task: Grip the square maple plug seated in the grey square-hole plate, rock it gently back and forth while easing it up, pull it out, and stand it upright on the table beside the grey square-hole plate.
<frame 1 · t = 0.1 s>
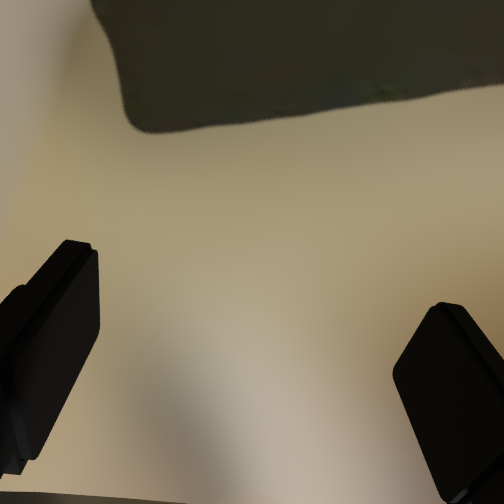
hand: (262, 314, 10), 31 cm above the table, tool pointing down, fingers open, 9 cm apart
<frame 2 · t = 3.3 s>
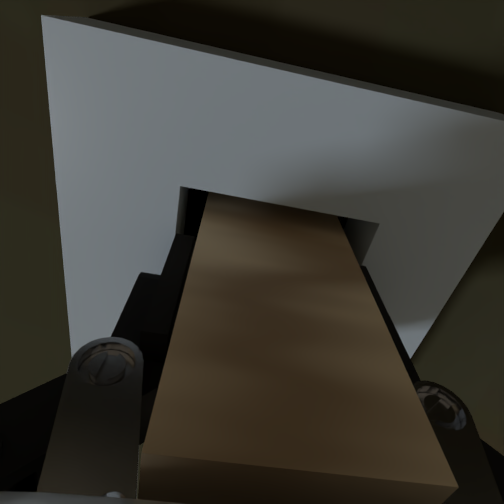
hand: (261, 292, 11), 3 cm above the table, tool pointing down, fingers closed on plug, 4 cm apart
grey square-hole plate: (259, 245, 13), on the table
plug: (263, 333, 10), in the grey square-hole plate, touching gripper
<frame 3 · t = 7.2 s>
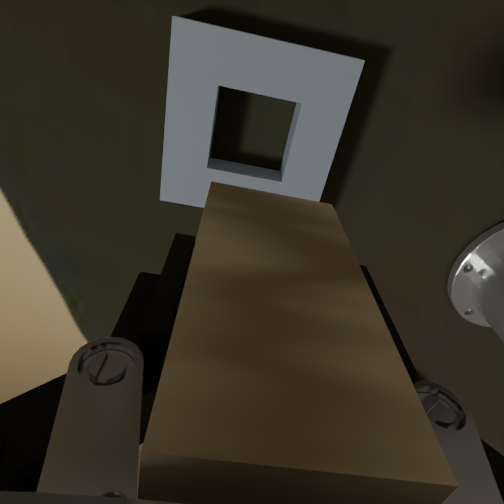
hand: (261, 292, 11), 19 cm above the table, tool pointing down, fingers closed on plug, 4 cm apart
grey square-hole plate: (252, 128, 27), on the table
plug: (262, 332, 10), point 21 cm above the table, touching gripper
when the fingers open (4 cm above the table, at t = 11.4 s): plug drops 1 cm, on the table.
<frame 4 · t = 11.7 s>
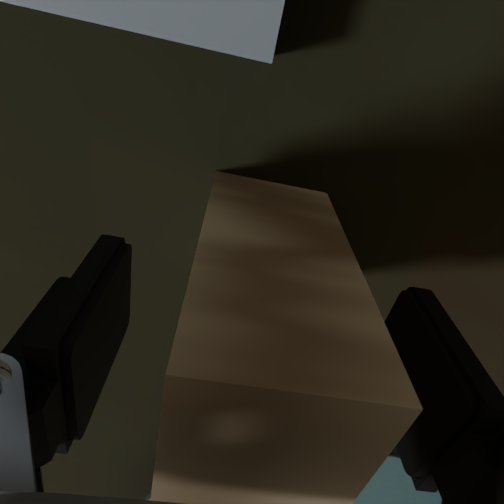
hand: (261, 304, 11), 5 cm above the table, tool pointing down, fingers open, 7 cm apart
blue plate: (301, 497, 27), on the table
plug: (262, 305, 11), on the table
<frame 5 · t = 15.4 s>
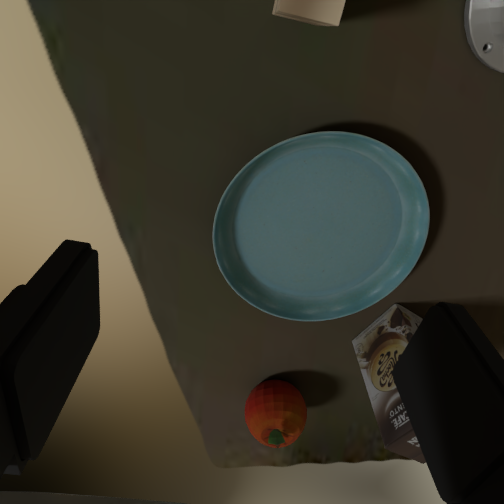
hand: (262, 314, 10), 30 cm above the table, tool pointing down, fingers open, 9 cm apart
fruit: (274, 388, 59), on the table
blue plate: (315, 227, 44), on the table
coffee box: (387, 329, 52), on the table
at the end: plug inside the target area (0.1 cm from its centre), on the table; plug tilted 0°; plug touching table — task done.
